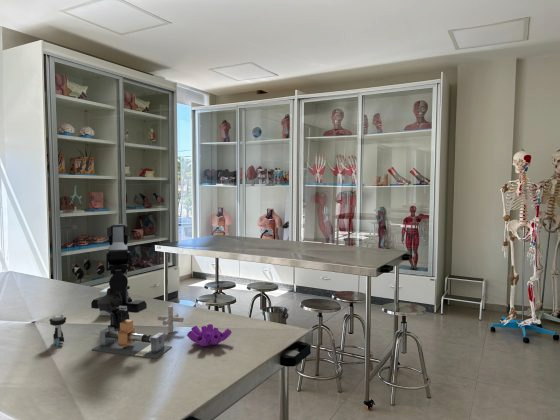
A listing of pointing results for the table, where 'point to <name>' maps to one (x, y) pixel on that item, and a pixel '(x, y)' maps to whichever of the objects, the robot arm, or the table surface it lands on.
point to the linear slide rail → (133, 339)
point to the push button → (58, 329)
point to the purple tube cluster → (208, 335)
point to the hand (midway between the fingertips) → (119, 328)
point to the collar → (125, 333)
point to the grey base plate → (132, 349)
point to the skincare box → (102, 293)
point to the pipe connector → (170, 319)
